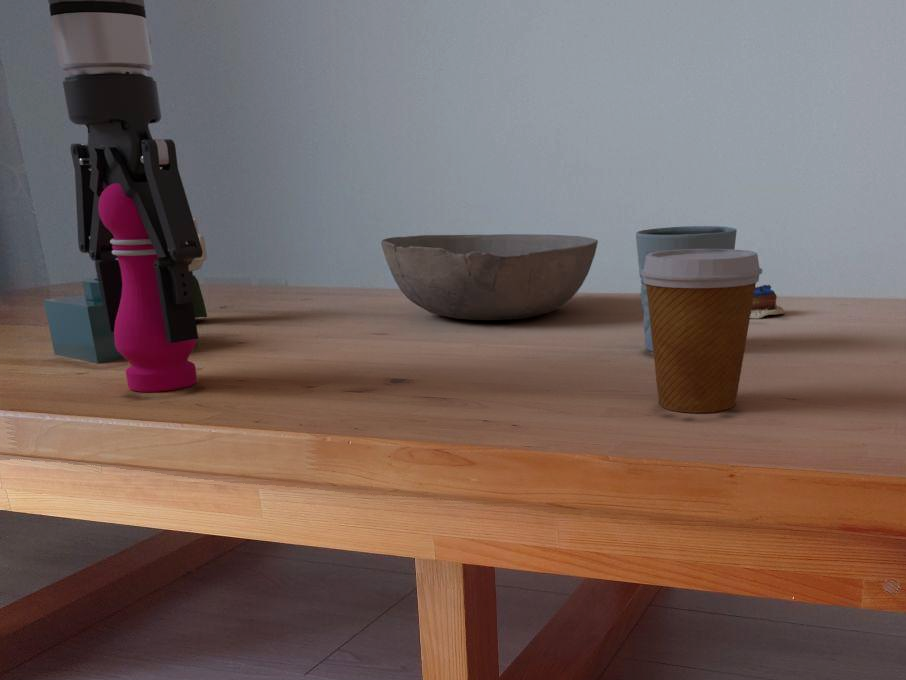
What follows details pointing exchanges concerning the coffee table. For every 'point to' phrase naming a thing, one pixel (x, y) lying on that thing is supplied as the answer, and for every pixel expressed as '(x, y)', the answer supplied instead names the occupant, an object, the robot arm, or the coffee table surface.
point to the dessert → (764, 302)
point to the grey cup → (677, 240)
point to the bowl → (489, 272)
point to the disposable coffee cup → (699, 324)
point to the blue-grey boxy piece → (81, 326)
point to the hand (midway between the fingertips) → (151, 335)
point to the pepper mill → (142, 303)
